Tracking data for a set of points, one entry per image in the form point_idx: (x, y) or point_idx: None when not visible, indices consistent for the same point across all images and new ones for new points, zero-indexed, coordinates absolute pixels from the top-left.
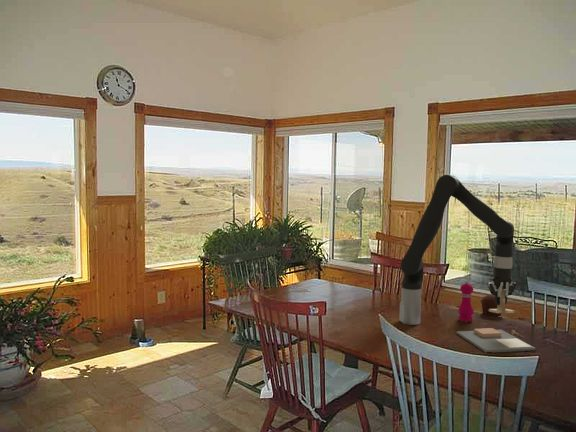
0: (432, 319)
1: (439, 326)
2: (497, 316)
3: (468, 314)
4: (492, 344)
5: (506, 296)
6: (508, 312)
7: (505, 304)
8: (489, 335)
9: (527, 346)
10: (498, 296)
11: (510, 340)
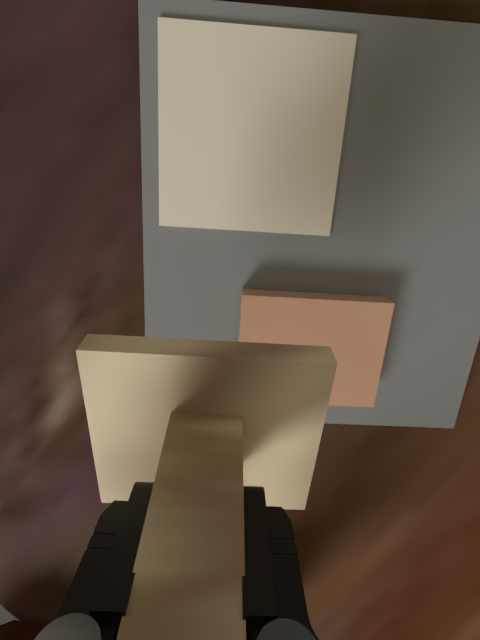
0: (399, 623)
1: (446, 533)
2: (13, 621)
3: None
4: (418, 150)
5: (84, 622)
6: (177, 340)
7: (142, 482)
8: (335, 296)
9: (194, 22)
10: (292, 632)
11: (236, 190)
